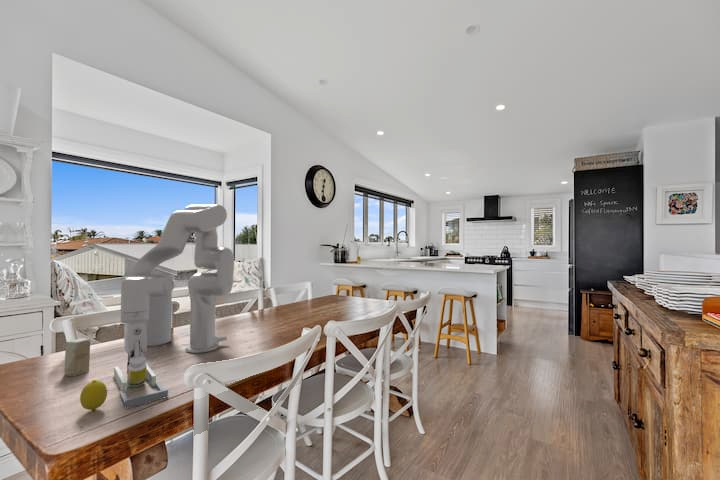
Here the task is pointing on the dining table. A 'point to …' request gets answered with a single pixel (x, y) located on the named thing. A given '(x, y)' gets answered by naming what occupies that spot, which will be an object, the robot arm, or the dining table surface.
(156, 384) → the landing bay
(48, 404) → the dining table surface
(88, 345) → the box
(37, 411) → the dining table surface
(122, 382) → the chute
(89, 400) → the lemon
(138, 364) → the supplement bottle
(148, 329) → the cylinder vase
